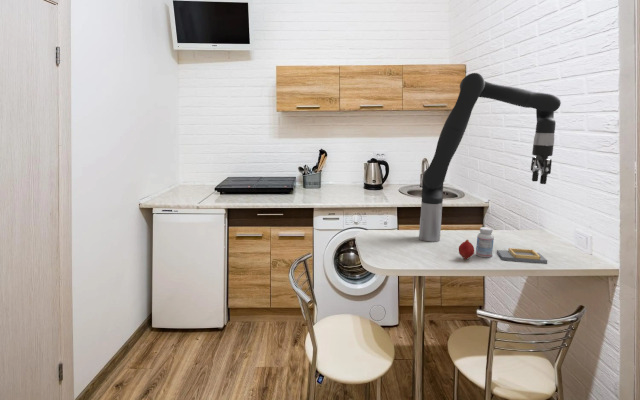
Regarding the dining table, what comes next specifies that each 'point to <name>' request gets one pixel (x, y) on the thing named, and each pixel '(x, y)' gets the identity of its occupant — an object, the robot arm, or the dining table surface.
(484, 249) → the pill bottle
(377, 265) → the dining table surface
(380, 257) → the dining table surface
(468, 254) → the onion
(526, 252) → the plate
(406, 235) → the dining table surface
